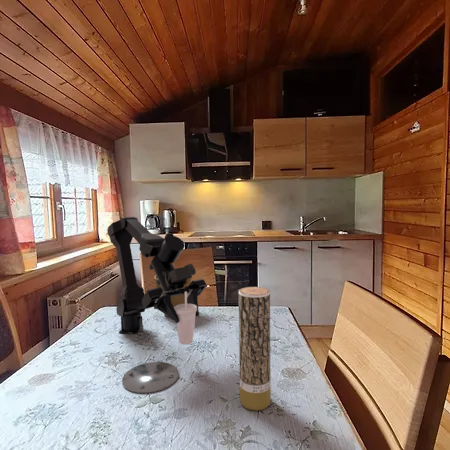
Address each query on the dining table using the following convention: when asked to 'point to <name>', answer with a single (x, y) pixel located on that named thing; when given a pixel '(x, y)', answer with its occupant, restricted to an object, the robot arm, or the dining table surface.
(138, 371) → the flange plate
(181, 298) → the plant pot
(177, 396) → the dining table surface
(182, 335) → the smoothie
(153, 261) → the robot arm
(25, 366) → the dining table surface
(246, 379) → the paper tube
